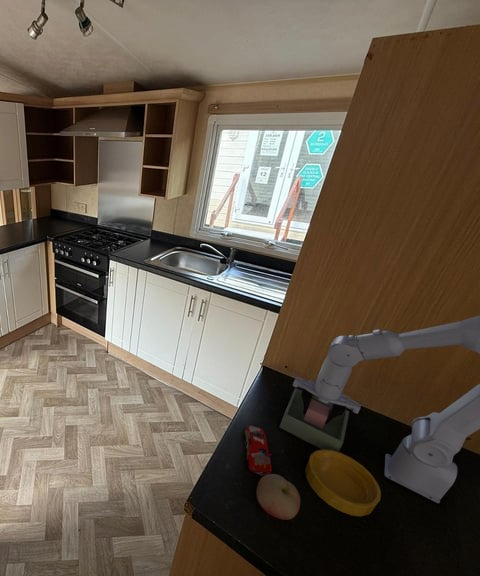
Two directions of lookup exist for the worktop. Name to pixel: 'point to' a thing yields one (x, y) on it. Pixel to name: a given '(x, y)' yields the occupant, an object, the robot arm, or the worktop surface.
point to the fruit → (278, 497)
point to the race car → (257, 451)
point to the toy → (317, 414)
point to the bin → (322, 438)
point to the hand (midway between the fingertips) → (315, 416)
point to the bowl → (342, 482)
